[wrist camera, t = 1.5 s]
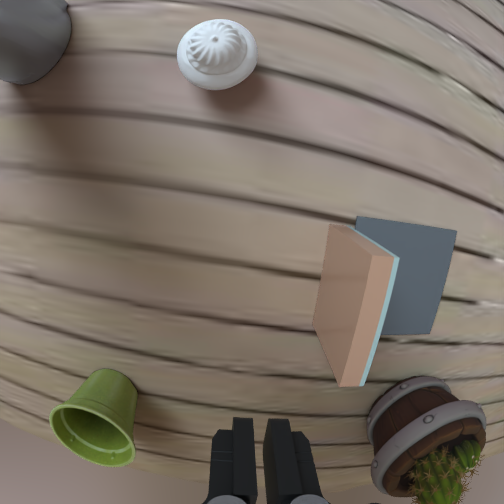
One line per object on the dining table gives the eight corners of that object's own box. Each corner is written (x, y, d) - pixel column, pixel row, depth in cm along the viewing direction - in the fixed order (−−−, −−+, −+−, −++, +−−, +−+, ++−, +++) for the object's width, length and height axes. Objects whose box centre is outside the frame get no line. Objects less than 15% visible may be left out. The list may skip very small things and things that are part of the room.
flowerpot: (464, 384, 35) (537, 476, 16) (385, 452, 38) (429, 555, 19) (421, 336, 32) (522, 455, 13) (326, 421, 35) (368, 559, 16)
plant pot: (159, 374, 32) (141, 430, 24) (144, 425, 34) (129, 477, 26) (82, 343, 31) (47, 390, 23) (77, 398, 33) (51, 444, 25)
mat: (357, 216, 28) (357, 216, 28) (455, 230, 29) (456, 231, 29) (334, 333, 31) (334, 334, 31) (428, 332, 32) (429, 333, 32)
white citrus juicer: (266, 48, 24) (274, 16, 17) (240, 108, 25) (240, 90, 19) (200, 28, 23) (190, -8, 16) (173, 86, 24) (153, 64, 18)
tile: (329, 223, 28) (372, 255, 19) (350, 226, 28) (399, 257, 19) (312, 323, 31) (339, 386, 21) (331, 324, 31) (363, 385, 22)
